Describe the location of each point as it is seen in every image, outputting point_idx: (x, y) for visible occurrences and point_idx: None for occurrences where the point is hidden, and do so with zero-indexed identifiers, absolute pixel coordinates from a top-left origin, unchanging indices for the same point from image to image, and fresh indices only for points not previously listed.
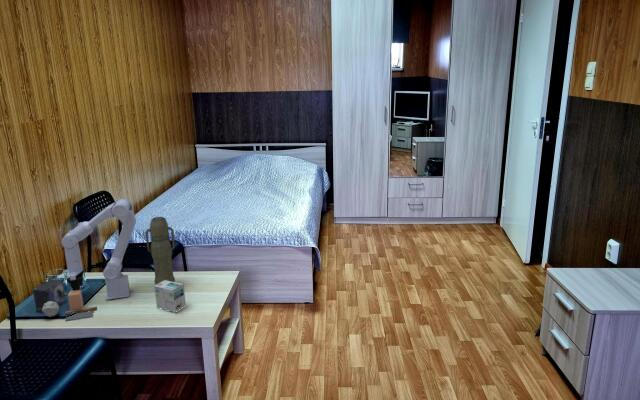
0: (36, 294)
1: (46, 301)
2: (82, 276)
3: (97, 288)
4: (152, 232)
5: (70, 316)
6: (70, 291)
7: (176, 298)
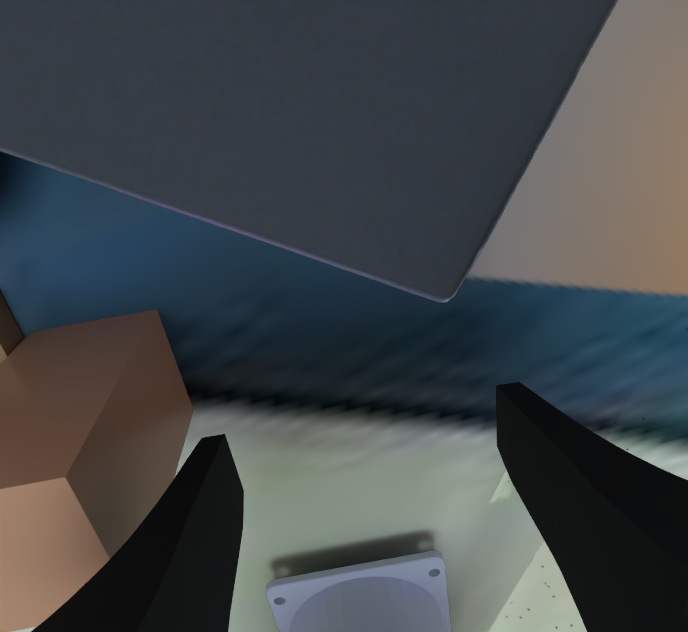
0: None
1: None
2: (574, 595)
3: (633, 402)
4: None
5: None
6: (55, 494)
7: None
